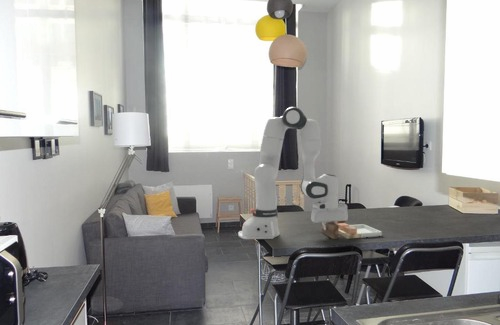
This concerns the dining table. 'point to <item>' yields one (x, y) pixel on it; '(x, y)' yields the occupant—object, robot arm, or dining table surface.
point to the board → (346, 235)
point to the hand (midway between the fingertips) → (329, 229)
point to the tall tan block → (330, 230)
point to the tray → (367, 231)
